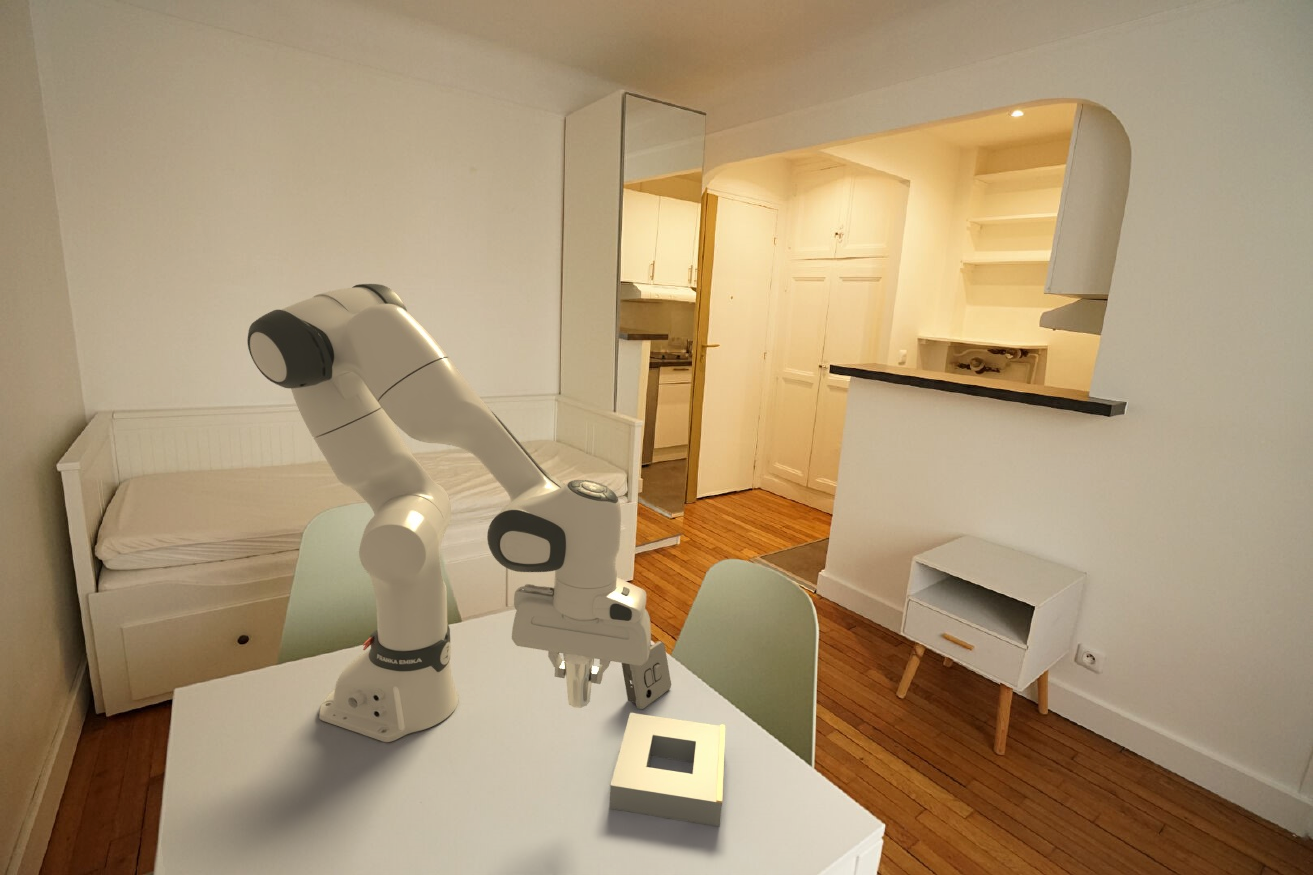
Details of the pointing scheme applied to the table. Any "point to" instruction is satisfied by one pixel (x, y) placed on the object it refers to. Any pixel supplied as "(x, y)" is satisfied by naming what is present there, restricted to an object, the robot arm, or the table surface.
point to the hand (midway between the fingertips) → (578, 678)
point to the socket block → (670, 789)
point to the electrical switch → (648, 677)
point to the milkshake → (578, 679)
